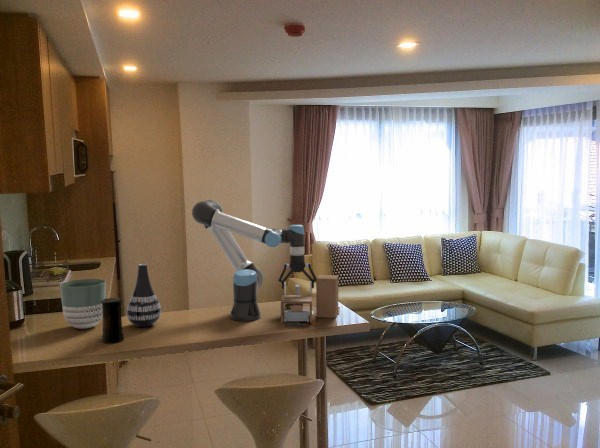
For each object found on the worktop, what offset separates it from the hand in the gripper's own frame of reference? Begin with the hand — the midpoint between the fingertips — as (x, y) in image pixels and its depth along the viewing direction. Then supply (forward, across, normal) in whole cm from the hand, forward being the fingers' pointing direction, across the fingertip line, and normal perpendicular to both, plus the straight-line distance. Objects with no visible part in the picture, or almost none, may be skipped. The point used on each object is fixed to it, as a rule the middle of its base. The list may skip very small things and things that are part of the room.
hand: (298, 294), depth 270 cm
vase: (+8, -73, -26) cm, 78 cm away
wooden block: (+10, +15, -7) cm, 19 cm away
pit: (+9, 0, -25) cm, 27 cm away
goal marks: (+9, 0, -2) cm, 9 cm away
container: (+8, -79, -49) cm, 94 cm away
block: (+9, 0, -13) cm, 16 cm away
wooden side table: (+9, 0, -14) cm, 17 cm away
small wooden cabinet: (+9, 0, -9) cm, 13 cm away
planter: (+8, -100, -29) cm, 105 cm away
